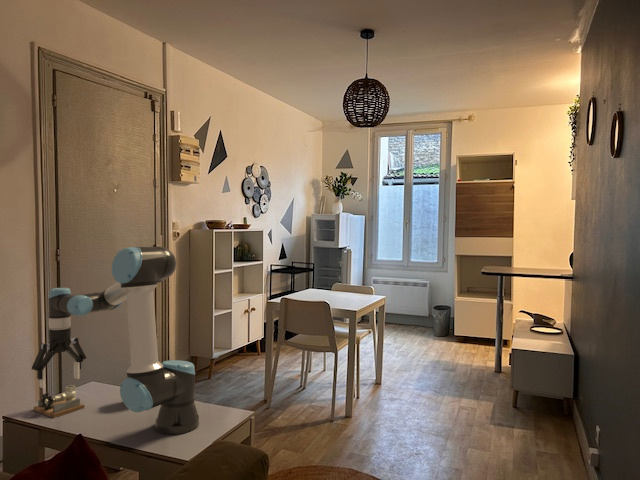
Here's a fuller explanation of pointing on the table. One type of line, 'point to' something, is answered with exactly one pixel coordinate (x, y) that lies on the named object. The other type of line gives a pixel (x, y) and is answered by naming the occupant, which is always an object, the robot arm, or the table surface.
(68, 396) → the valve
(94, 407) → the table surface
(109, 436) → the table surface
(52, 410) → the board
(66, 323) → the robot arm
